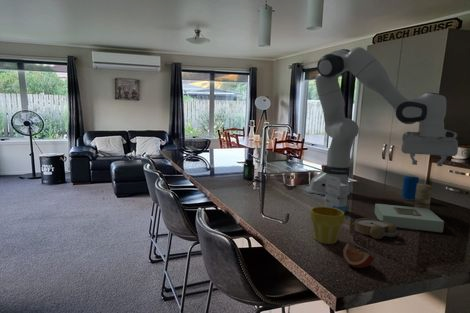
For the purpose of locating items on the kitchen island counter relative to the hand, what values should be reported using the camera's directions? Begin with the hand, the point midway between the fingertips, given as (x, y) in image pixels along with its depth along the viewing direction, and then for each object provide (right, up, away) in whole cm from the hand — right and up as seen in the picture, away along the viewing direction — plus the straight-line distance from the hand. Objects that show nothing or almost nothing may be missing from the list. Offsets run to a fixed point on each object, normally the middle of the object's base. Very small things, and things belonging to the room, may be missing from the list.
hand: (426, 165), depth 131 cm
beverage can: (+6, -18, +24) cm, 30 cm away
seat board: (-14, -22, -10) cm, 28 cm away
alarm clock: (-32, -24, -23) cm, 46 cm away
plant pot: (-52, -24, -30) cm, 64 cm away
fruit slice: (-48, -26, -46) cm, 72 cm away
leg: (-1, -20, +3) cm, 21 cm away
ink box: (-38, -20, +2) cm, 43 cm away
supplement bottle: (-73, -10, +59) cm, 94 cm away
